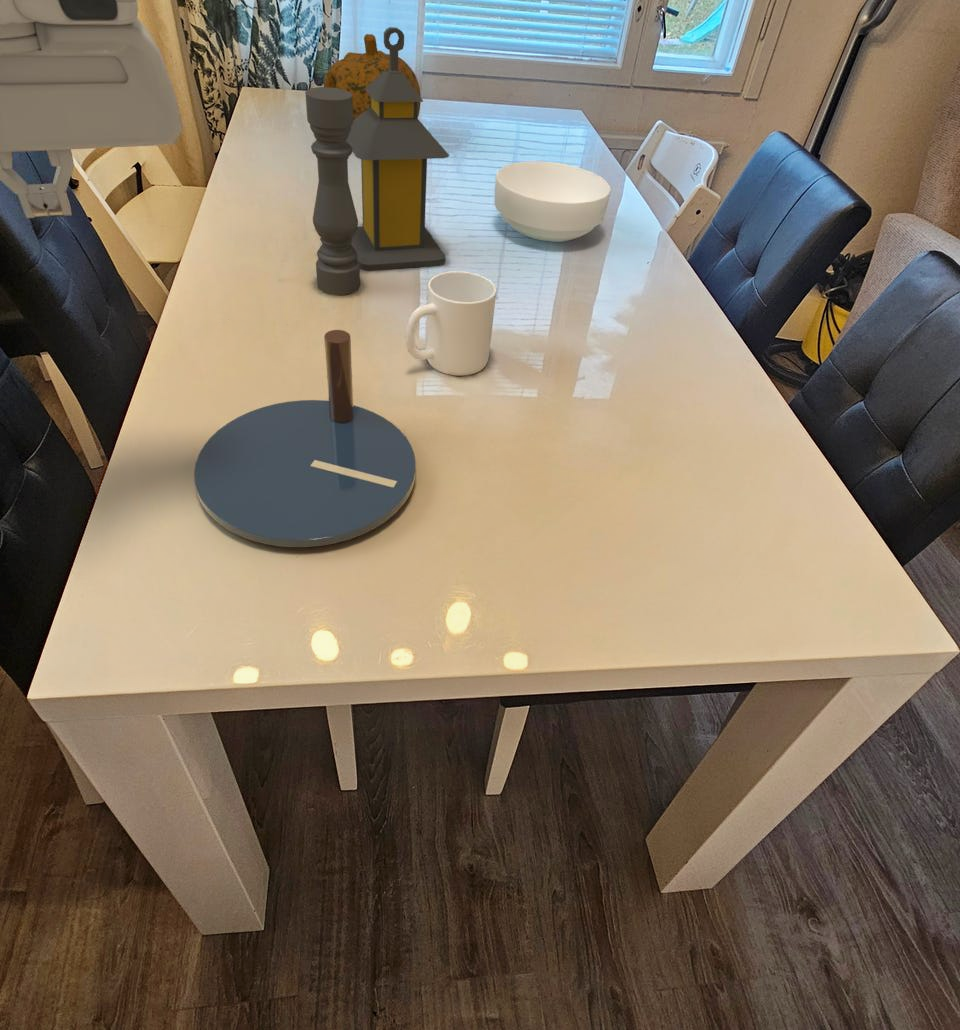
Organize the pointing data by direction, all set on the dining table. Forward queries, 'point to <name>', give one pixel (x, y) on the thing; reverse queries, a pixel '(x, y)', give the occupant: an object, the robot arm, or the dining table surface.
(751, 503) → the dining table surface
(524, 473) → the dining table surface
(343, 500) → the blue disc with peg
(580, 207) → the bowl
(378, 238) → the lantern
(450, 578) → the dining table surface
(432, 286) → the cup
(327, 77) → the decorative pumpkin
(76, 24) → the robot arm
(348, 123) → the candle holder
